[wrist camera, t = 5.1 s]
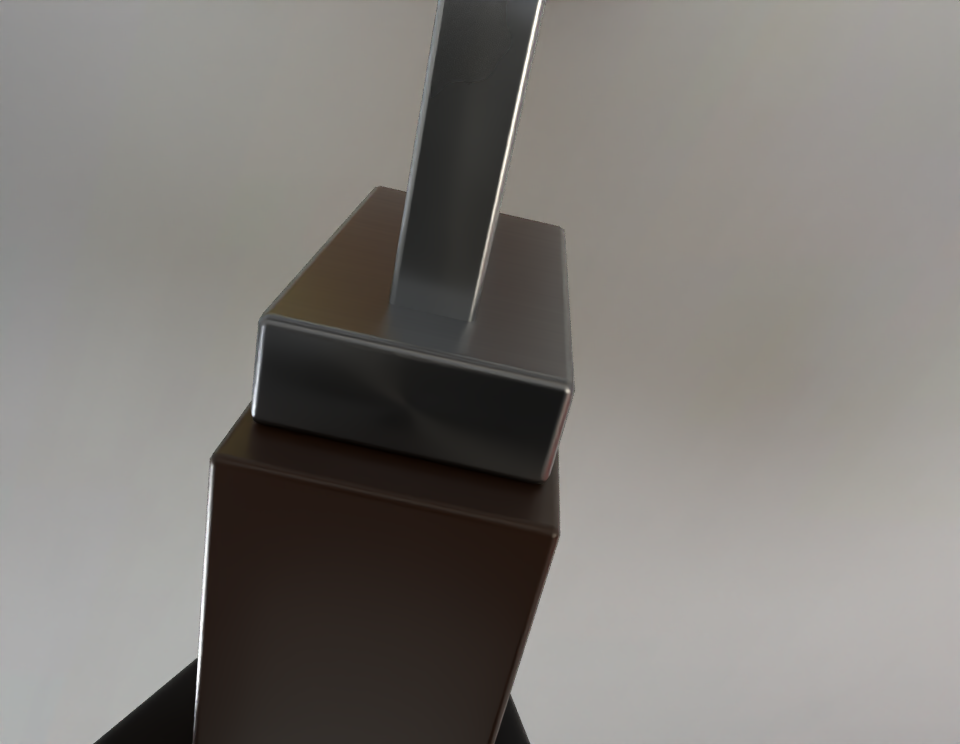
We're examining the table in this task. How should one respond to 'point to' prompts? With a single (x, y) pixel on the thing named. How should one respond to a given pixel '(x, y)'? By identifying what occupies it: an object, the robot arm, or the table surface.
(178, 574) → the table surface
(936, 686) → the table surface
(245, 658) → the knife
